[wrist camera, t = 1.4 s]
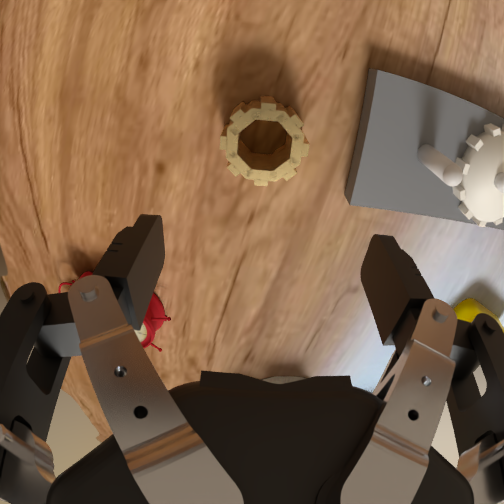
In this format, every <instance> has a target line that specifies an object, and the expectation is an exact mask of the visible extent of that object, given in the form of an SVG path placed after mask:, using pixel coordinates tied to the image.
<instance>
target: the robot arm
mask: <svg viewBox="0 0 504 504" xmlns="http://www.w3.org/2000/svg"><path fill="white" fill-rule="evenodd" d="M164 259H165V247H164V236H163V224H162V218H161V216H160V215H147V214H141V215H140V216H139V218H138V219H137V221H136V222H135V224H134V226H133V227H126V228H124V229H123V230H122V231H120V232H119V233H118V234H117V235H116V236H115V238H114V239H113V241H112V244H110V246H109V247H108V249H107V251H106V252H105V254H104V255H103V257H102V259H101V260H100V262H99V264H98V265H97V267H96V269H95V270H94V272H93V274H92V275H90V276H85V277H83V278H80V279H79V280H77V281H76V282H74V283H73V284H72V286H71V287H70V289H69V291H68V292H64V293H57V294H49V295H48V294H47V292H46V289H45V287H44V286H43V285H42V284H40V283H36V282H32V283H27V284H25V285H23V286H21V287H20V288H18V289H17V290H16V291H15V292H14V293H13V295H12V296H11V298H10V300H9V301H8V303H7V305H6V307H5V308H4V310H3V312H2V313H1V315H0V500H2V501H5V502H9V503H11V504H503V503H504V332H503V330H502V328H501V327H500V325H499V323H498V322H497V321H496V320H495V319H494V318H493V317H491V316H490V315H488V314H485V313H479V314H477V315H476V317H475V318H474V319H473V321H472V322H467V321H464V320H460V319H457V315H456V313H455V311H454V310H453V309H452V307H451V306H449V305H448V304H447V303H445V302H444V301H442V300H439V299H435V298H434V297H433V295H432V293H431V291H430V289H429V287H428V285H427V284H426V282H425V280H424V278H423V276H421V273H420V271H419V269H417V266H416V264H415V263H414V261H413V259H412V258H411V257H410V256H409V255H408V254H407V253H406V252H405V251H404V250H401V248H400V247H399V245H398V243H397V242H396V240H395V238H394V237H393V236H387V235H378V234H375V235H373V237H372V238H371V241H370V244H369V247H368V250H367V253H366V256H365V258H364V261H363V264H362V267H361V282H362V284H363V287H364V290H365V293H366V296H367V298H368V301H369V304H370V307H371V310H372V313H373V316H374V319H375V322H376V325H377V328H378V331H379V334H380V337H381V341H382V344H383V345H395V347H396V350H395V351H394V353H393V354H392V356H391V358H390V360H389V362H388V364H387V366H386V368H385V370H384V372H383V374H382V376H381V378H380V380H379V382H378V384H377V386H376V388H375V390H374V391H373V393H370V392H368V391H366V390H363V389H361V388H357V387H354V386H352V384H351V379H350V376H315V377H311V378H307V379H302V380H298V381H293V382H289V383H284V384H275V383H271V382H267V381H263V380H259V379H256V378H252V377H249V376H245V375H242V374H235V373H222V372H211V371H201V378H200V381H196V382H191V383H186V384H183V385H180V386H177V387H175V388H173V389H171V390H167V389H166V387H165V385H164V384H163V382H162V380H161V379H160V377H159V375H158V373H157V372H156V370H155V368H154V366H153V365H152V363H151V361H150V359H149V357H148V356H147V354H146V352H145V350H144V348H143V346H142V344H141V342H140V341H139V339H138V337H137V335H136V333H135V331H134V330H138V331H140V330H141V327H142V324H143V321H144V318H145V315H146V312H147V309H148V306H149V303H150V300H151V298H152V295H153V292H154V289H155V286H156V284H157V281H158V278H159V276H160V273H161V270H162V268H163V264H164ZM33 345H34V349H33V351H32V353H31V356H30V358H29V361H28V363H27V360H28V357H29V355H30V352H31V350H32V348H33ZM80 355H82V357H83V360H84V363H85V366H86V369H87V371H88V374H89V377H90V380H91V382H92V385H93V388H94V390H95V393H96V395H97V398H98V400H99V403H100V405H101V407H102V410H103V412H104V414H105V417H106V419H107V421H108V423H109V426H110V428H111V430H112V432H113V434H112V435H111V436H110V437H109V438H107V439H106V440H105V441H104V442H102V443H101V444H100V445H99V446H97V447H96V448H95V449H93V450H92V451H91V452H89V453H88V454H87V455H85V456H84V457H83V458H82V459H80V460H79V461H78V462H76V463H75V464H74V465H72V466H71V467H70V468H68V469H67V470H65V471H64V472H63V473H61V474H60V475H59V476H58V477H57V478H56V477H55V475H54V472H53V469H54V464H53V455H52V451H51V449H50V447H49V446H48V444H47V443H46V439H47V435H48V431H49V427H50V423H51V420H52V416H53V413H54V409H55V406H56V402H57V399H58V396H59V392H60V389H61V386H62V383H63V380H64V377H65V374H66V371H67V368H68V365H69V362H70V359H71V356H80ZM26 364H27V365H26ZM479 365H481V368H482V370H483V373H484V376H485V378H486V382H487V388H486V392H485V394H484V395H483V396H482V397H481V395H480V392H479V389H478V386H477V383H476V380H475V377H474V375H473V372H474V371H475V370H476V369H477V368H478V366H479ZM446 401H447V404H448V408H449V412H450V416H451V420H452V425H453V429H454V434H455V438H456V443H457V448H458V453H459V460H458V465H457V467H456V468H455V467H454V466H453V465H452V464H450V463H449V462H448V461H447V460H446V459H445V458H444V457H443V456H442V455H441V454H439V453H438V452H437V451H436V450H435V449H434V448H433V447H432V446H431V443H432V441H433V438H434V435H435V433H436V430H437V427H438V424H439V421H440V418H441V415H442V412H443V409H444V405H445V402H446Z"/></svg>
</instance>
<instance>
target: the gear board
mask: <svg viewBox="0 0 504 504" xmlns="http://www.w3.org/2000/svg"><path fill="white" fill-rule="evenodd" d="M345 197H346V199H347V201H348V203H349V204H350V205H354V206H362V207H369V208H377V209H384V210H391V211H398V212H405V213H412V214H418V215H425V216H431V217H437V218H443V219H449V220H454V221H460V222H465V223H471V224H476V225H478V226H480V227H485V226H486V227H491V228H496V229H501V230H504V118H502V117H500V116H498V115H496V114H494V113H492V112H490V111H488V110H486V109H484V108H482V107H480V106H477V105H475V104H473V103H471V102H469V101H466V100H464V99H462V98H459V97H457V96H454V95H452V94H450V93H447V92H444V91H442V90H439V89H437V88H434V87H431V86H428V85H426V84H423V83H420V82H417V81H414V80H411V79H408V78H405V77H401V76H398V75H395V74H391V73H388V72H384V71H380V70H376V69H371V68H369V72H368V79H367V85H366V91H365V97H364V103H363V109H362V114H361V119H360V125H359V130H358V135H357V140H356V145H355V150H354V155H353V159H352V164H351V168H350V173H349V177H348V182H347V186H346V190H345Z"/></svg>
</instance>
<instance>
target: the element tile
mask: <svg viewBox="0 0 504 504" xmlns="http://www.w3.org/2000/svg"><path fill="white" fill-rule="evenodd" d="M453 310H454V311H455V313H456V315H457V319H460V320H464V321H467V322H472V321H473V319H474V318H475V317H476V315H477V314H479V313H485V314H488V315H490V316H491V317H493V318H494V319H495V320H496V321H497V322H498V323H499V325H500V327H501V328H502V330H503V332H504V328H503V326H502V324H501V323H500V321H499V319H498V317H497V316H496V315H495V314H493V313H492V312H491V311H489V310H488V309H487V308H485V307H484V306H483V305H481V304H480V303H479V302H477V301H476V300H475V299H473V298H468V299H465V300H464V301H462V302H461V303H459V304H458V305H457V306H456V307H455V308H454V309H453Z"/></svg>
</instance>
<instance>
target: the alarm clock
mask: <svg viewBox="0 0 504 504" xmlns="http://www.w3.org/2000/svg"><path fill="white" fill-rule="evenodd" d="M92 274H93V273H92V272H90V271H87V272H85V273H83V274H82V275H81V277H80V278H83V277H85V276H90V275H92ZM80 278H79V279H80ZM79 279H78V280H79ZM72 282H73V283H74V282H76V281H74V280H72ZM65 284H67V285H72V283H67V282H63V283H61V284H60V286H59V293H60V288H61V286H62V285H65ZM166 320H168V321H170V320H171V318H170V317H168V318H167V317H166V316H165V311H164V308H163V305H162V303H161V301H160V300H159V299H158V297H157V296H156V295H155V294H154V293H153V295H152V298H151V300H150V303H149V306H148V309H147V312H146V315H145V318H144V321H143V324H142V327H141V330H140V331H138V330H134V331H135V333H136V335H137V337H138V339H139V341H140V342H141V344H142V346H143V348H146V347H148V346H149V345H152V346H153V347H155V348H157V349H158V350H159V351H160V352H161V351H162V349H161V348H158V347H157V346H155V345H154V344H153V343H151V342H152V341H153V339H154V336H155V332H156V330H158V329H159V328H160V327H161V326H162V324H163V322H164V321H166Z"/></svg>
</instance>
